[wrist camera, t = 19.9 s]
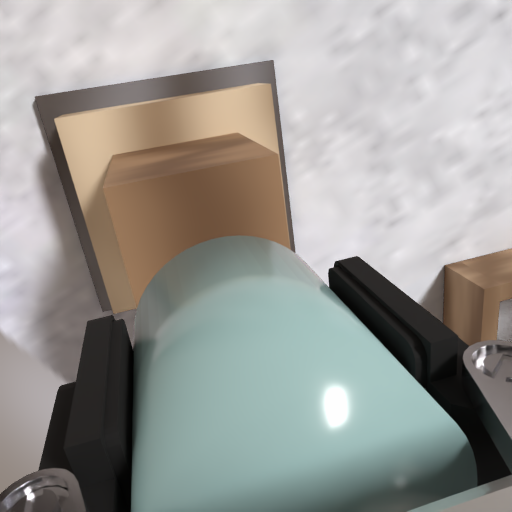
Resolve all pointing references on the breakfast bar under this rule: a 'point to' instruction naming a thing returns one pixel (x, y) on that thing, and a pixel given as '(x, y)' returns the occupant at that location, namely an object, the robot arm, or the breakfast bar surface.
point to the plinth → (149, 145)
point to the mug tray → (477, 295)
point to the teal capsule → (276, 396)
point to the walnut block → (192, 199)
